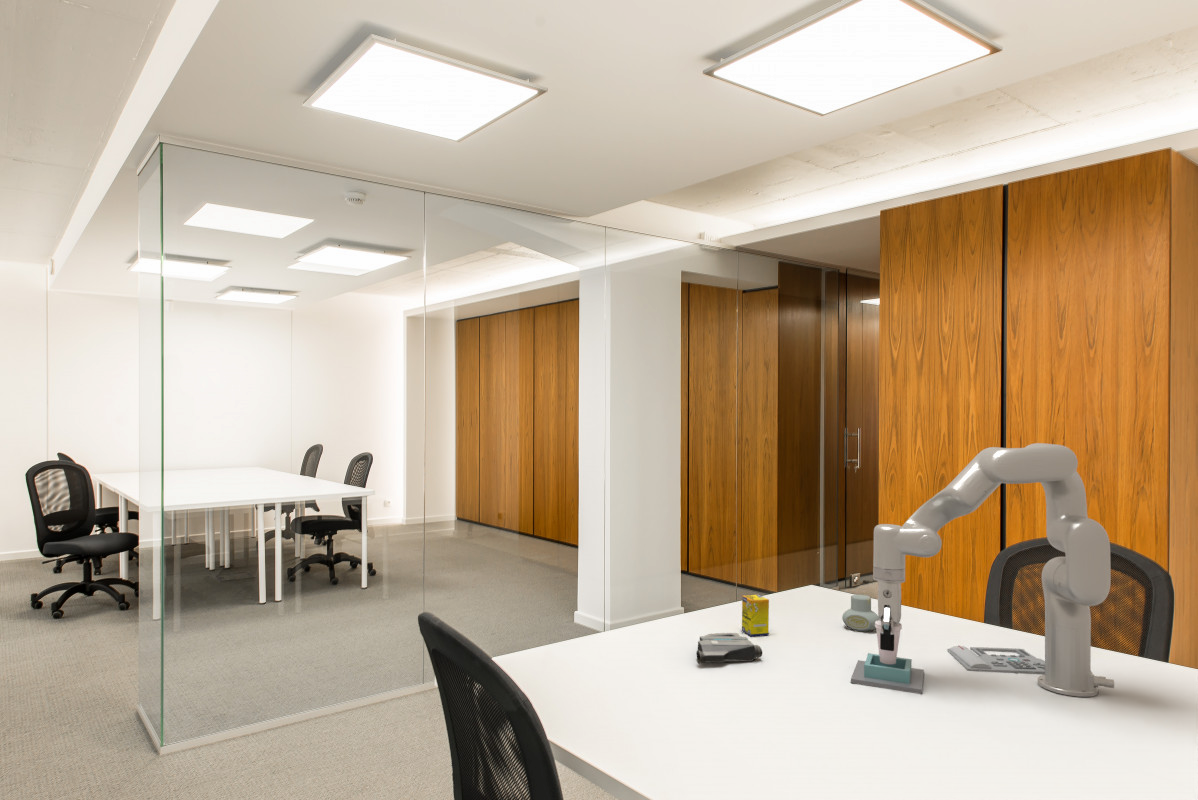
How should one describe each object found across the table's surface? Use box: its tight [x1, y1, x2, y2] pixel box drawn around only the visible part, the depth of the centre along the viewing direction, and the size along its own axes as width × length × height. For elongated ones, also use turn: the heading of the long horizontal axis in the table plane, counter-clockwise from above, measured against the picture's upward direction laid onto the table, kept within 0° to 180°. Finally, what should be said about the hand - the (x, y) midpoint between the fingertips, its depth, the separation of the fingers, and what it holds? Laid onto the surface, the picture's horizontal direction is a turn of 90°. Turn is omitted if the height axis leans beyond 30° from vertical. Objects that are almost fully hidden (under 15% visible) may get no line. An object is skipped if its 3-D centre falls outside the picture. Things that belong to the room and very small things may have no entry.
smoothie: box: [875, 619, 903, 664], centre depth 190 cm, size 6×6×14 cm
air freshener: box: [841, 594, 879, 633], centre depth 234 cm, size 11×8×10 cm
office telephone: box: [947, 645, 1045, 675], centre depth 205 cm, size 23×3×20 cm
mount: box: [850, 653, 925, 695], centre depth 190 cm, size 16×16×4 cm
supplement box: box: [741, 594, 770, 638], centre depth 227 cm, size 6×6×11 cm
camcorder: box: [696, 632, 763, 665], centre depth 205 cm, size 16×20×5 cm
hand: (888, 645), depth 190 cm, fingers closed on smoothie, 6 cm apart
